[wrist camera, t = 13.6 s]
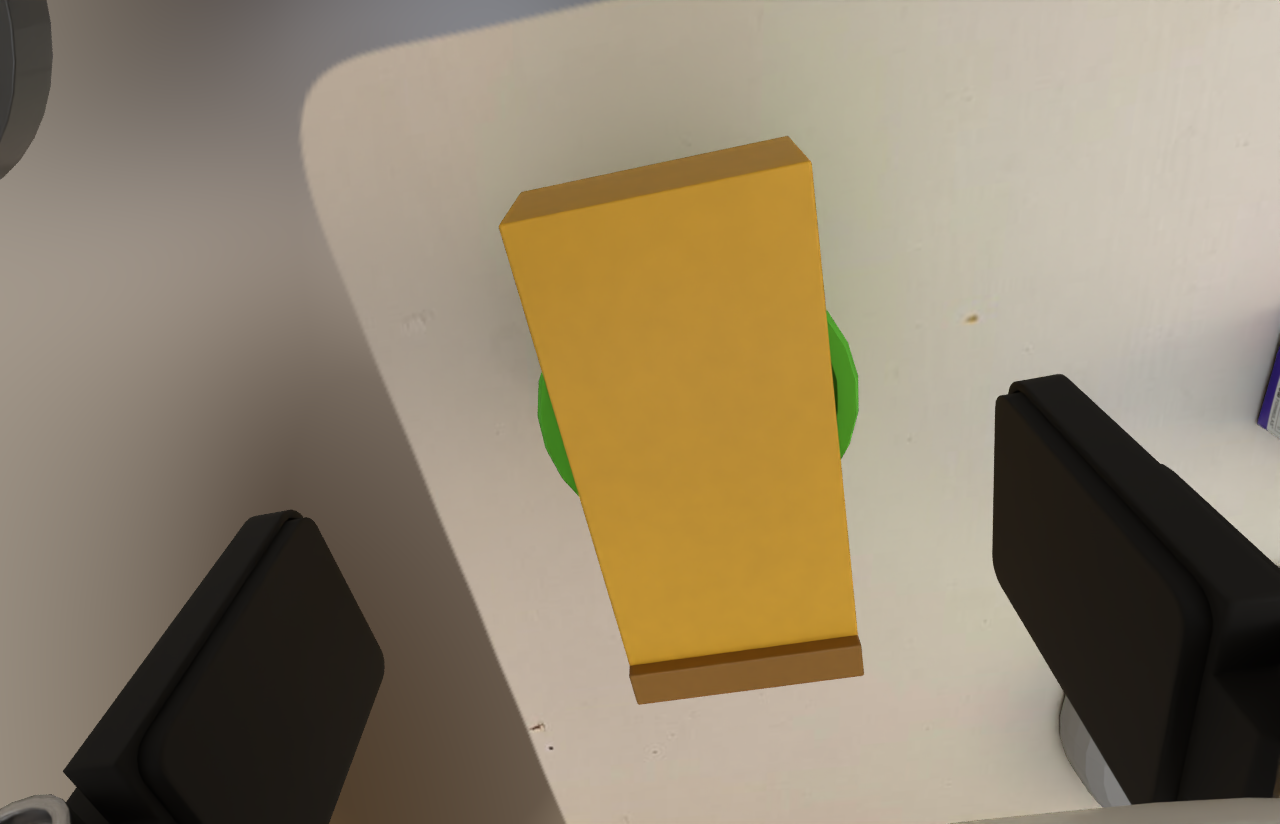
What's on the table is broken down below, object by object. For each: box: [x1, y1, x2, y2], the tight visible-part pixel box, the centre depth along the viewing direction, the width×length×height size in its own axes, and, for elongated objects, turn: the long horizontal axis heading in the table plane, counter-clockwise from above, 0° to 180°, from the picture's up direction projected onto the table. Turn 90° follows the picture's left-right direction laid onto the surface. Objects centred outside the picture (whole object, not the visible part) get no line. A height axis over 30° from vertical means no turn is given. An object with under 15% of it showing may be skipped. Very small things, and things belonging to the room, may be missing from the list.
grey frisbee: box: [1060, 695, 1131, 808], centre depth 40 cm, size 18×18×5 cm
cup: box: [538, 310, 859, 496], centre depth 26 cm, size 9×9×11 cm
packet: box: [499, 136, 864, 705], centre depth 20 cm, size 14×6×3 cm, turn 12°
